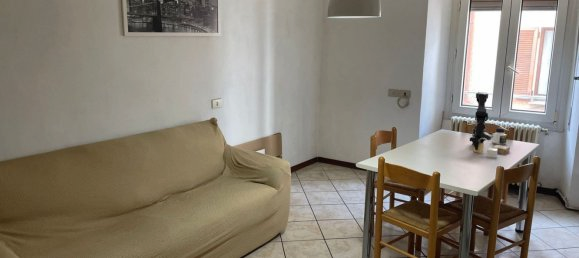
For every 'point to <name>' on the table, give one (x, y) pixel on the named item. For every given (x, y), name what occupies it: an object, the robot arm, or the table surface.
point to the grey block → (492, 152)
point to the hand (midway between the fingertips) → (478, 149)
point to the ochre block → (479, 148)
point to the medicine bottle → (499, 136)
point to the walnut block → (502, 149)
